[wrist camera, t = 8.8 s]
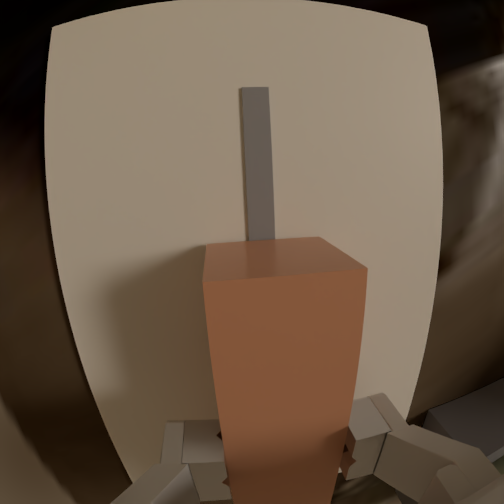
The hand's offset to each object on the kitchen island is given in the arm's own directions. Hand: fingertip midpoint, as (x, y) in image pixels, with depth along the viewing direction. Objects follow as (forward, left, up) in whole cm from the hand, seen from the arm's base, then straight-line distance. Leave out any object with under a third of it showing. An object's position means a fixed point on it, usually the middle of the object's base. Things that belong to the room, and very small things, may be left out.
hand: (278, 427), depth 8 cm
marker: (0, 0, -2) cm, 2 cm away
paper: (-3, 0, -2) cm, 4 cm away
